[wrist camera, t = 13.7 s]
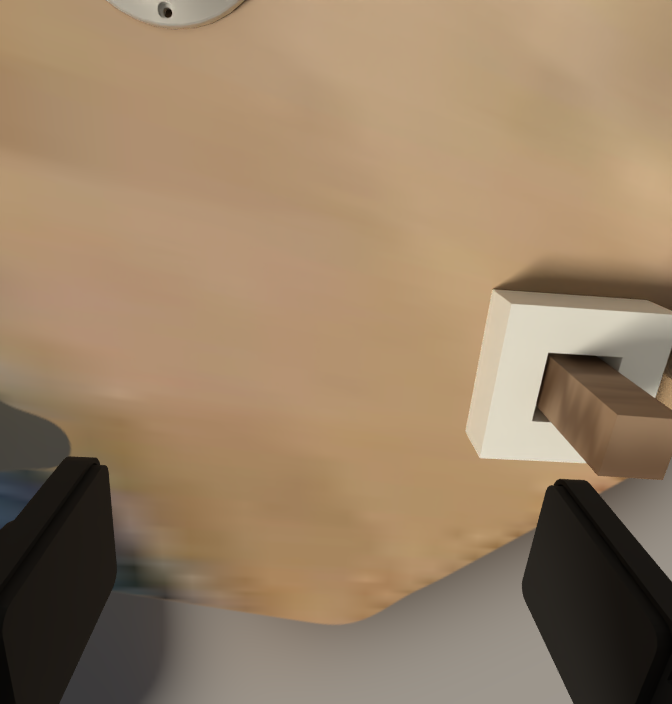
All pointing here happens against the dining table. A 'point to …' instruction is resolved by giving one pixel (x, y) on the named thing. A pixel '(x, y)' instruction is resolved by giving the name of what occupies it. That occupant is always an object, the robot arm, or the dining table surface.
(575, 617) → the robot arm
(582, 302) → the bore block
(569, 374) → the walnut peg
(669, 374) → the grey cylinder
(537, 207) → the dining table surface
